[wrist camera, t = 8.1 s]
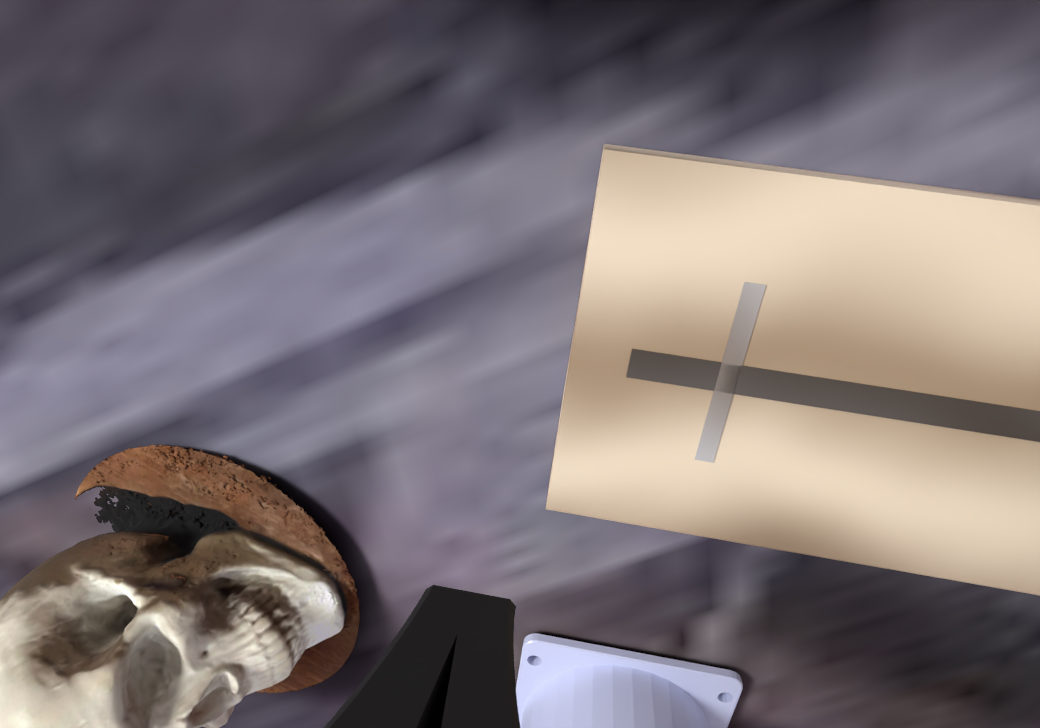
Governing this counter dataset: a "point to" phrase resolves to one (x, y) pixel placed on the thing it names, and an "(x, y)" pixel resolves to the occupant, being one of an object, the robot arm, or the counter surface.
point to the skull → (175, 602)
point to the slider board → (809, 366)
